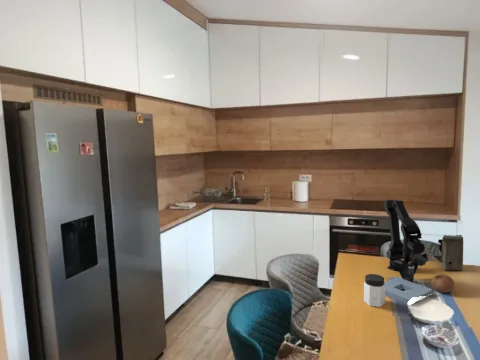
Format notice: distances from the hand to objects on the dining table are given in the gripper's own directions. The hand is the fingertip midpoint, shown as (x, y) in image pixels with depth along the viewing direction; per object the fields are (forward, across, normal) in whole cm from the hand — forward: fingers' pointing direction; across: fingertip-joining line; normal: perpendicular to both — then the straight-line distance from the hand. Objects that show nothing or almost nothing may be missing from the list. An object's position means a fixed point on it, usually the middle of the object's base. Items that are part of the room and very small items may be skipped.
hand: (408, 276), depth 174 cm
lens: (+3, 0, 0) cm, 3 cm away
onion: (+3, +2, -16) cm, 16 cm away
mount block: (+2, -14, -6) cm, 15 cm away
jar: (+3, -33, -4) cm, 33 cm away
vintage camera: (+3, +35, -1) cm, 35 cm away
